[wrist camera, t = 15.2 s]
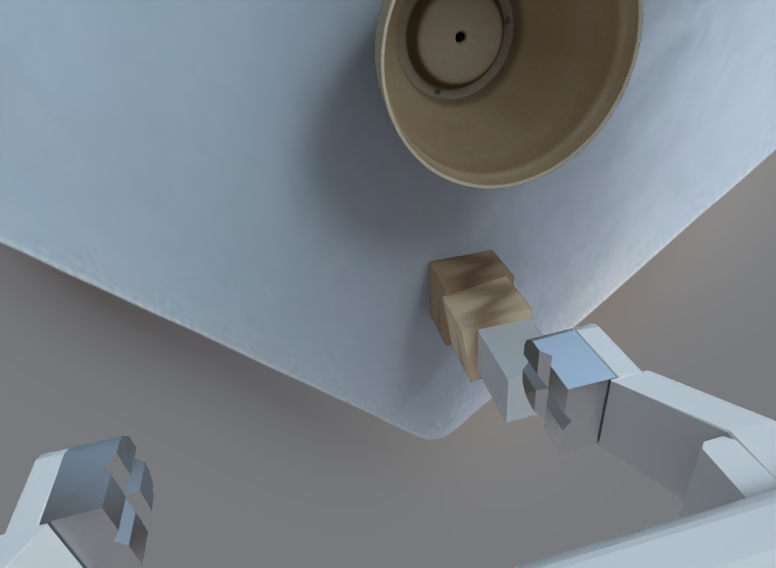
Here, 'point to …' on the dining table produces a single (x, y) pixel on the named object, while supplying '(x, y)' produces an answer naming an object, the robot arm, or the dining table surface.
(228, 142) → the dining table surface
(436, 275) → the walnut block
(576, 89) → the planter bowl
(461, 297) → the oak block
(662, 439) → the robot arm
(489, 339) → the grey block
